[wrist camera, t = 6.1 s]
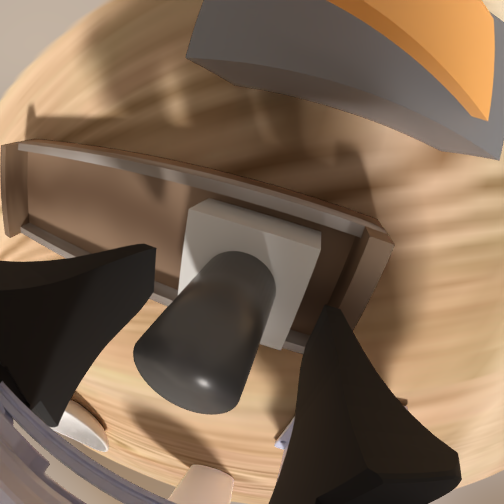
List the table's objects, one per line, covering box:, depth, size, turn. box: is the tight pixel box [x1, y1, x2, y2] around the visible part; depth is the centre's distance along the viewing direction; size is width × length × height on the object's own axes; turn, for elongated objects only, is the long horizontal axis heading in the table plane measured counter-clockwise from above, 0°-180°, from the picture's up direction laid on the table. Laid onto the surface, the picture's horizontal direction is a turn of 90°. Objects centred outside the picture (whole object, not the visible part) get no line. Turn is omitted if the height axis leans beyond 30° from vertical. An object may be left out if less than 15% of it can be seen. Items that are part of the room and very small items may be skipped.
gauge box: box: [185, 0, 504, 160], centre depth 7 cm, size 6×10×5 cm, turn 76°
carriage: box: [133, 198, 321, 414], centre depth 9 cm, size 5×5×7 cm
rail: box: [0, 139, 395, 354], centre depth 13 cm, size 7×24×3 cm, turn 76°
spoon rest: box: [50, 400, 109, 452], centre depth 30 cm, size 24×12×7 cm, turn 94°
